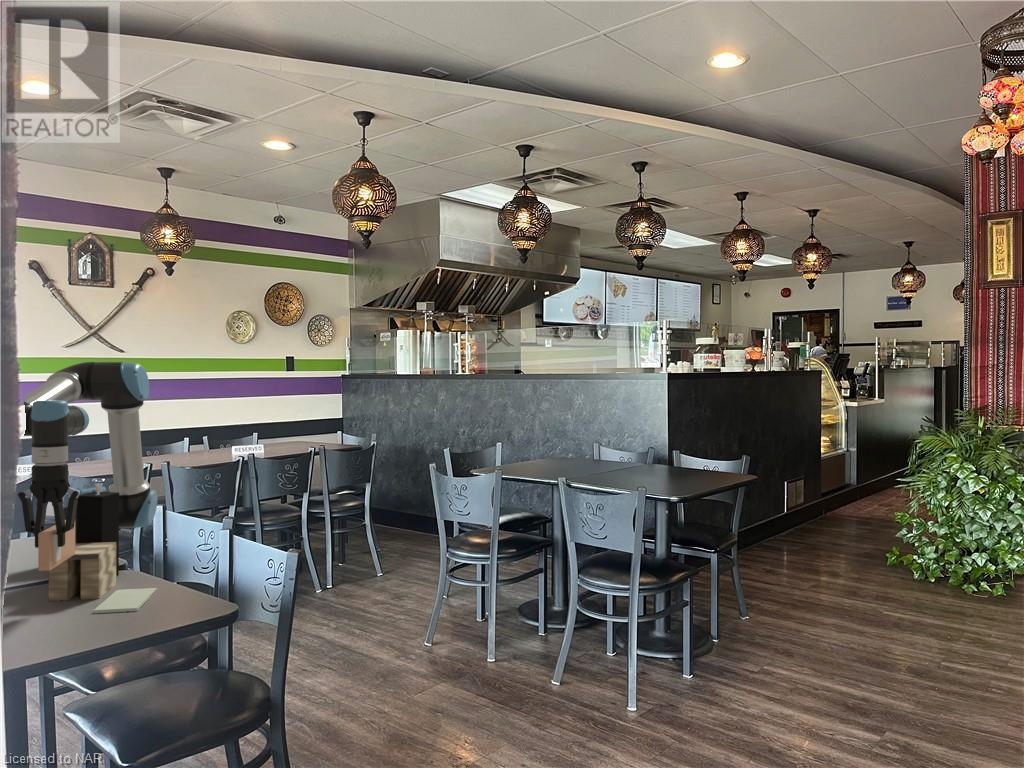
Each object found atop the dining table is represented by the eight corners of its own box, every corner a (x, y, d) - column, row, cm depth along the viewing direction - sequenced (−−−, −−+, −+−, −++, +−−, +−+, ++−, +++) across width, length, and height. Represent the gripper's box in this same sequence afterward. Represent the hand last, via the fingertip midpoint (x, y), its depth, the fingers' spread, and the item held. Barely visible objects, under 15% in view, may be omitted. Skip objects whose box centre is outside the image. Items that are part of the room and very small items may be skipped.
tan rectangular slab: (65, 554, 189) (65, 519, 189) (75, 554, 190) (75, 519, 189) (38, 571, 173) (38, 533, 173) (49, 570, 174) (49, 533, 174)
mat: (117, 592, 199) (117, 589, 199) (156, 590, 201) (156, 587, 201) (93, 613, 181) (93, 610, 181) (137, 611, 183) (137, 607, 183)
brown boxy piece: (69, 586, 205) (69, 543, 204) (116, 584, 207) (116, 542, 207) (47, 602, 190) (47, 556, 190) (97, 599, 192) (98, 554, 192)
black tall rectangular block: (119, 575, 216) (119, 481, 216) (101, 583, 208) (102, 485, 208) (94, 574, 217) (94, 480, 217) (75, 582, 209) (76, 484, 209)
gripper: (7, 466, 171) (7, 565, 172) (79, 465, 175) (79, 562, 175) (21, 462, 179) (21, 557, 179) (90, 461, 182) (90, 555, 182)
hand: (50, 560), depth 177 cm, fingers closed on tan rectangular slab, 2 cm apart
